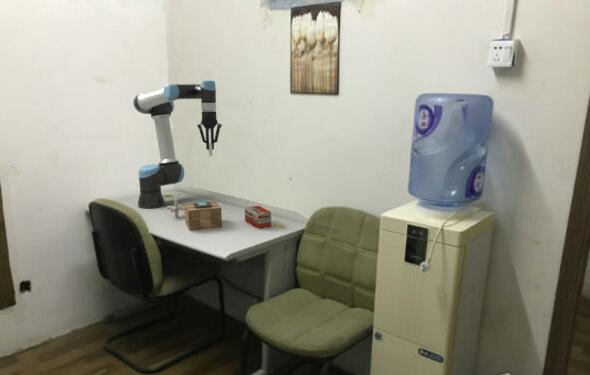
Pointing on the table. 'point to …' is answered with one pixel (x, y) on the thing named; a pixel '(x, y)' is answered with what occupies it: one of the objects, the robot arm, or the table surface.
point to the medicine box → (258, 217)
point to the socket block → (203, 217)
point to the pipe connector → (176, 208)
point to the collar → (202, 206)
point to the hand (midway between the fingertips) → (210, 155)
